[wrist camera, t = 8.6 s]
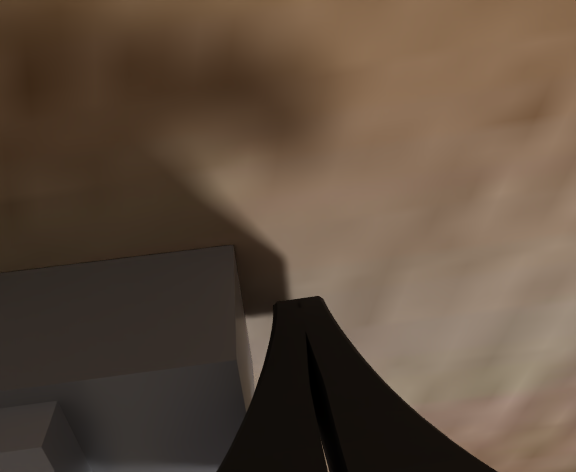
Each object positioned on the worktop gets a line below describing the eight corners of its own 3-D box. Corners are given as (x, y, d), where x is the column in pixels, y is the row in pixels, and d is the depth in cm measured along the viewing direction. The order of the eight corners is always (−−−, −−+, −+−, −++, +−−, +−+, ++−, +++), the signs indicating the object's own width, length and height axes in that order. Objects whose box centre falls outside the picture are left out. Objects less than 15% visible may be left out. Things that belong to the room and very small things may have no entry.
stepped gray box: (252, 366, 15) (264, 535, 11) (20, 397, 15) (-60, 585, 11) (233, 244, 13) (237, 402, 9) (-46, 278, 12) (-183, 460, 8)
